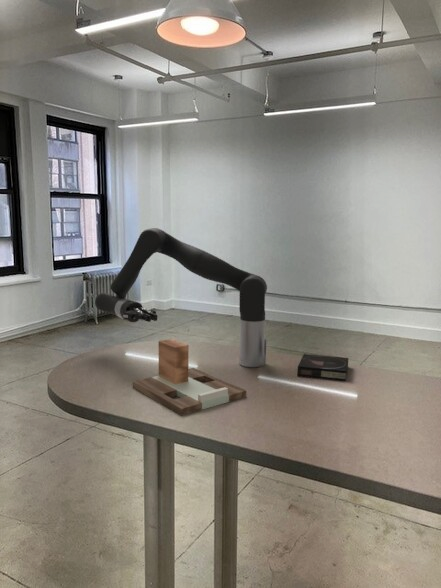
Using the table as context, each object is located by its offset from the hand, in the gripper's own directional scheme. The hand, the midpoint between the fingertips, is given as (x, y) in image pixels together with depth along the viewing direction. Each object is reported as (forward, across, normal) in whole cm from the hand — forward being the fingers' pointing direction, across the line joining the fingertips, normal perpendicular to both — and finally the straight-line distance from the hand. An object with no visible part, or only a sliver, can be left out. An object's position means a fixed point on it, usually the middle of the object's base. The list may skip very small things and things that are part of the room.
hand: (153, 318), depth 167 cm
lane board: (+21, 0, +20) cm, 29 cm away
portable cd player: (+33, +51, +21) cm, 64 cm away
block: (+13, 0, +18) cm, 22 cm away
